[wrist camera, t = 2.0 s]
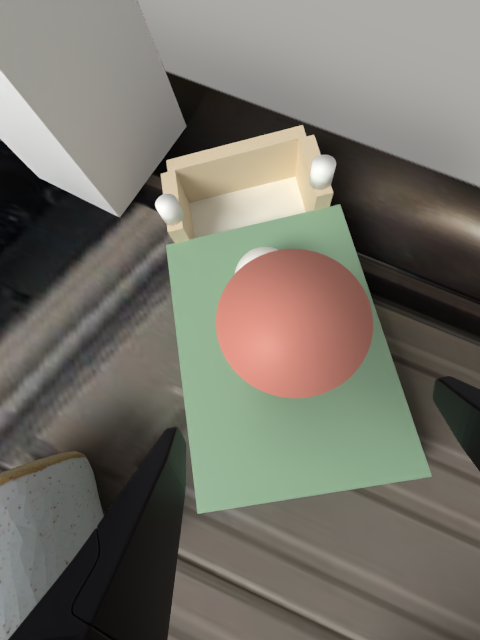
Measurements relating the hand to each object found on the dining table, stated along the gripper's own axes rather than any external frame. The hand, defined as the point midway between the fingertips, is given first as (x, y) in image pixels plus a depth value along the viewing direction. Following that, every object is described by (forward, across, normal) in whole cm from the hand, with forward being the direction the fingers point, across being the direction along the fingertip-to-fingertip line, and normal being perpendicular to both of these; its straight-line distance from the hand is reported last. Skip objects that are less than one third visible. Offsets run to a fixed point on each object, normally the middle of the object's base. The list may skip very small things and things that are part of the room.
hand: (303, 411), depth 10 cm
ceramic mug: (+4, +18, +12) cm, 22 cm away
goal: (+19, 0, -4) cm, 20 cm away
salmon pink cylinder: (+8, 0, +4) cm, 9 cm away
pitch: (+11, 0, +5) cm, 12 cm away
